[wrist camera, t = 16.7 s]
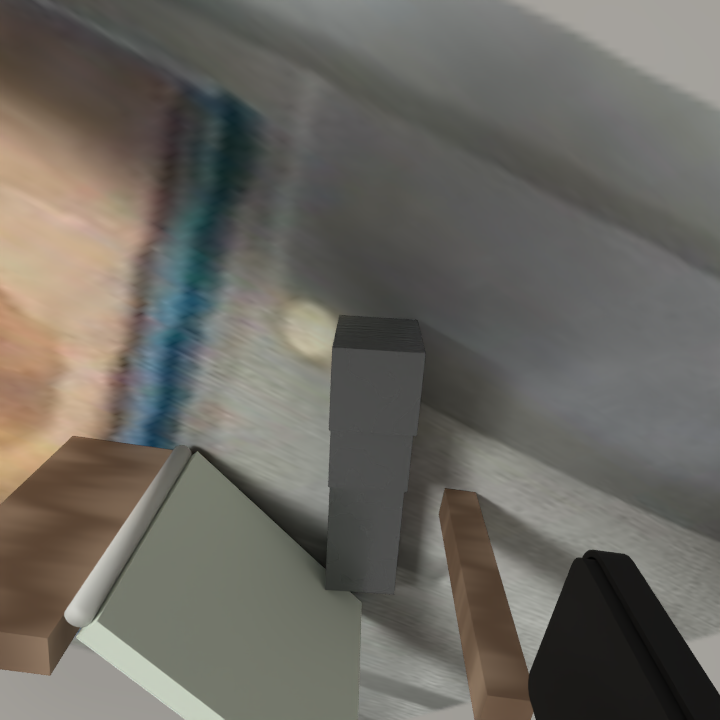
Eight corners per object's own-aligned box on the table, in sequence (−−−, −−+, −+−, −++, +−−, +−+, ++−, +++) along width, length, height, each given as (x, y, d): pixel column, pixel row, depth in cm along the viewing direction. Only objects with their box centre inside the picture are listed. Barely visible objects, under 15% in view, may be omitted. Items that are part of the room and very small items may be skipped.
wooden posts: (73, 463, 32) (-111, 655, 20) (72, 436, 31) (-118, 616, 19) (469, 518, 33) (524, 736, 21) (475, 492, 32) (537, 701, 20)
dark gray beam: (339, 315, 29) (332, 347, 24) (417, 320, 29) (425, 353, 24) (327, 565, 34) (320, 631, 30) (392, 569, 34) (395, 636, 30)
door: (157, 461, 31) (36, 634, 20) (184, 439, 31) (75, 604, 20) (335, 620, 35) (316, 840, 24) (361, 602, 35) (354, 820, 23)
